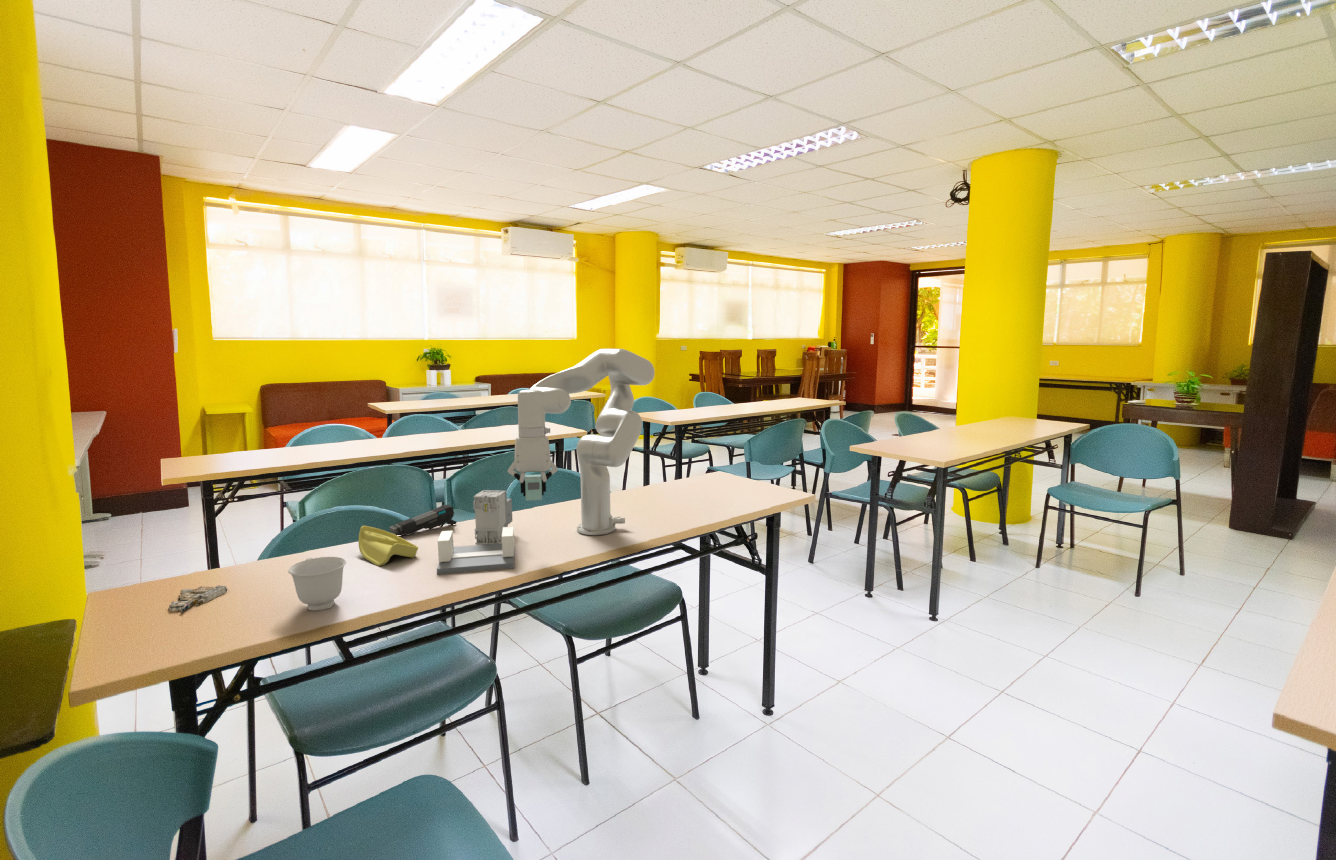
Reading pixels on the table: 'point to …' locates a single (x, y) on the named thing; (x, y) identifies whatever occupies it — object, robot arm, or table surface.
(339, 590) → the teacup
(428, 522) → the gun
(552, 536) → the table surface
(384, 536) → the plastic component
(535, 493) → the block
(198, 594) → the circuit board
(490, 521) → the circuit breaker
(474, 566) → the rail board
